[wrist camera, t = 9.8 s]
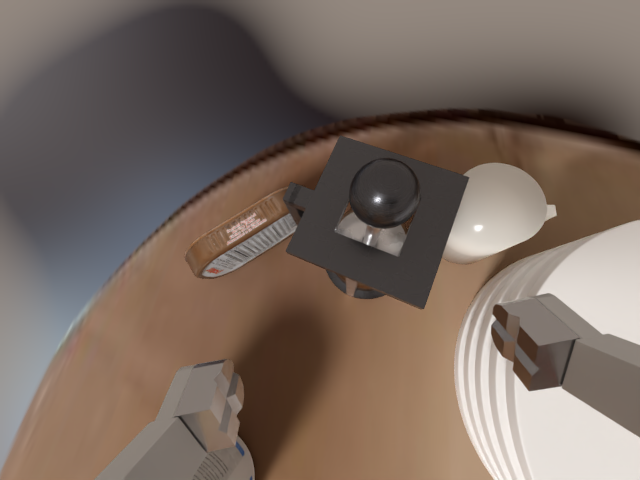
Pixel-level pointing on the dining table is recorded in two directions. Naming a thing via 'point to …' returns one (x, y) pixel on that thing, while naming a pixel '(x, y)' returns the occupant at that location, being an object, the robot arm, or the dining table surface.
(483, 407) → the plate stack
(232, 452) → the supplement tub
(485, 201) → the cream mug
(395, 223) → the plunger
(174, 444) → the robot arm
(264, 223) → the tin
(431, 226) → the black french press
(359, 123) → the dining table surface
